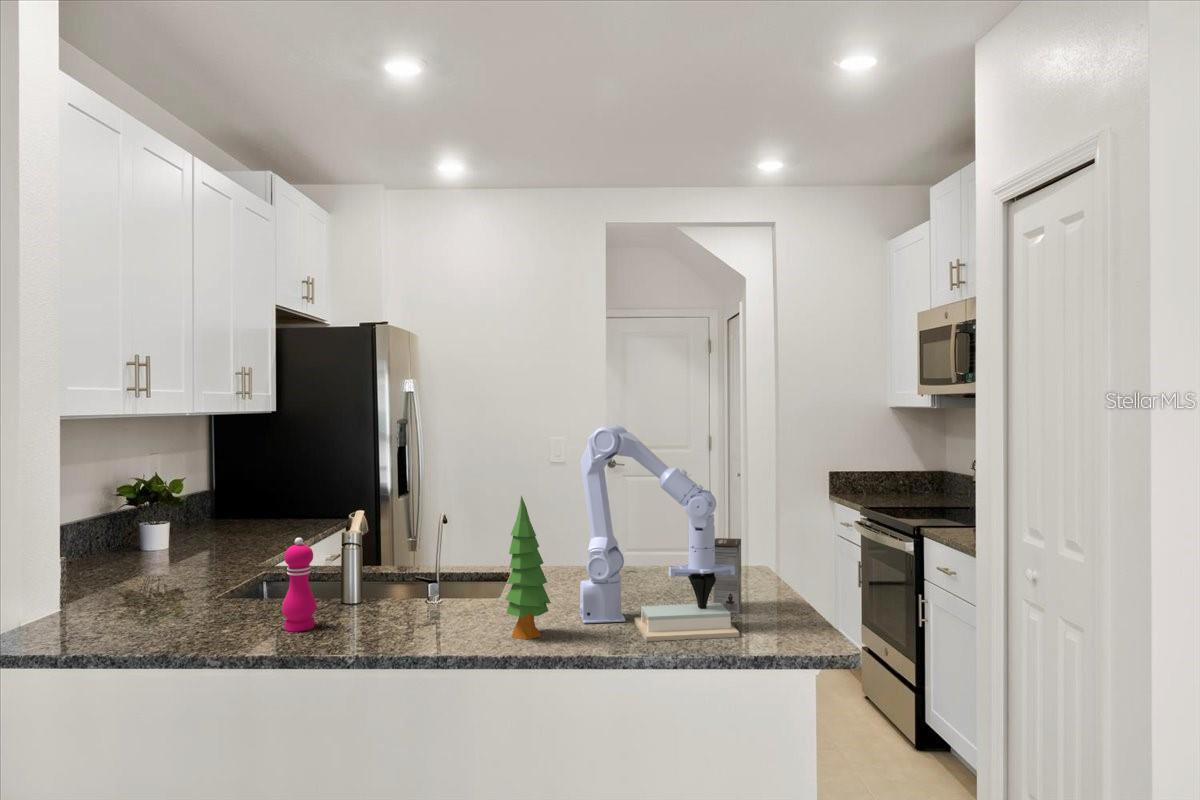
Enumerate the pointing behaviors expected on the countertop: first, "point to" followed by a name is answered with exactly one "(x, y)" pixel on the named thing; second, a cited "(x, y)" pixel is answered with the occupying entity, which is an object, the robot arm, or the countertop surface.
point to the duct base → (685, 628)
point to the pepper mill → (299, 589)
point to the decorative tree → (526, 578)
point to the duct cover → (684, 611)
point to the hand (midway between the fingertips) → (702, 608)
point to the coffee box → (726, 584)
